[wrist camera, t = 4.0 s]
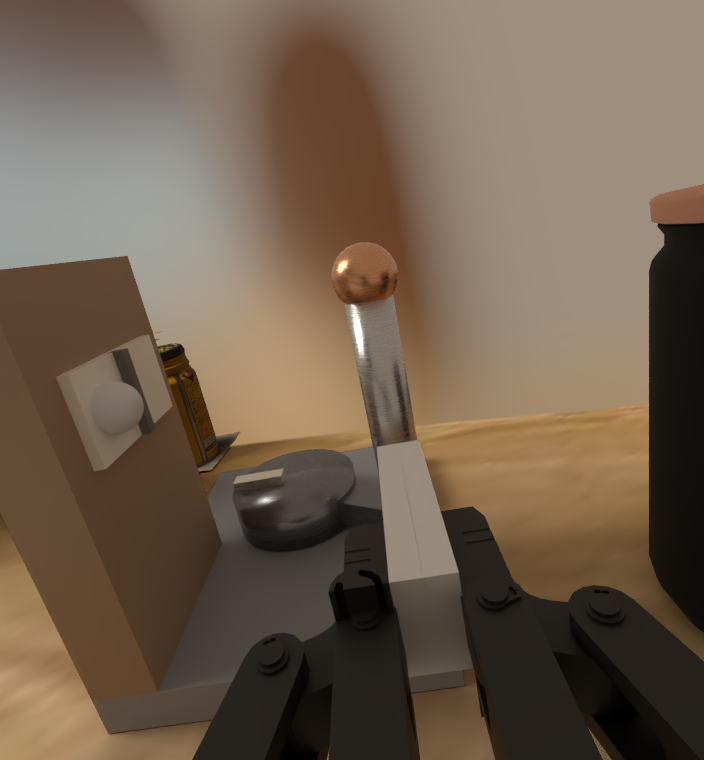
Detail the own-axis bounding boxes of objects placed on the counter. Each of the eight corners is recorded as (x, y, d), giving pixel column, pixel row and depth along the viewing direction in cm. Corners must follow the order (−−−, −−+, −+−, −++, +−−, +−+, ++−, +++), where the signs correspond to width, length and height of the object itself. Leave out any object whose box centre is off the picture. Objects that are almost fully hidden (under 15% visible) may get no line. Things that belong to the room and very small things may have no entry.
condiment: (143, 480, 46) (101, 365, 42) (183, 441, 54) (150, 342, 50) (211, 472, 45) (173, 353, 41) (241, 434, 52) (212, 331, 49)
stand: (108, 733, 21) (-110, 290, 15) (227, 493, 40) (152, 257, 34) (464, 685, 20) (384, 187, 14) (411, 462, 39) (368, 212, 33)
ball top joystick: (221, 580, 26) (122, 291, 21) (256, 489, 35) (193, 273, 30) (443, 545, 25) (394, 236, 20) (420, 461, 34) (382, 234, 29)
